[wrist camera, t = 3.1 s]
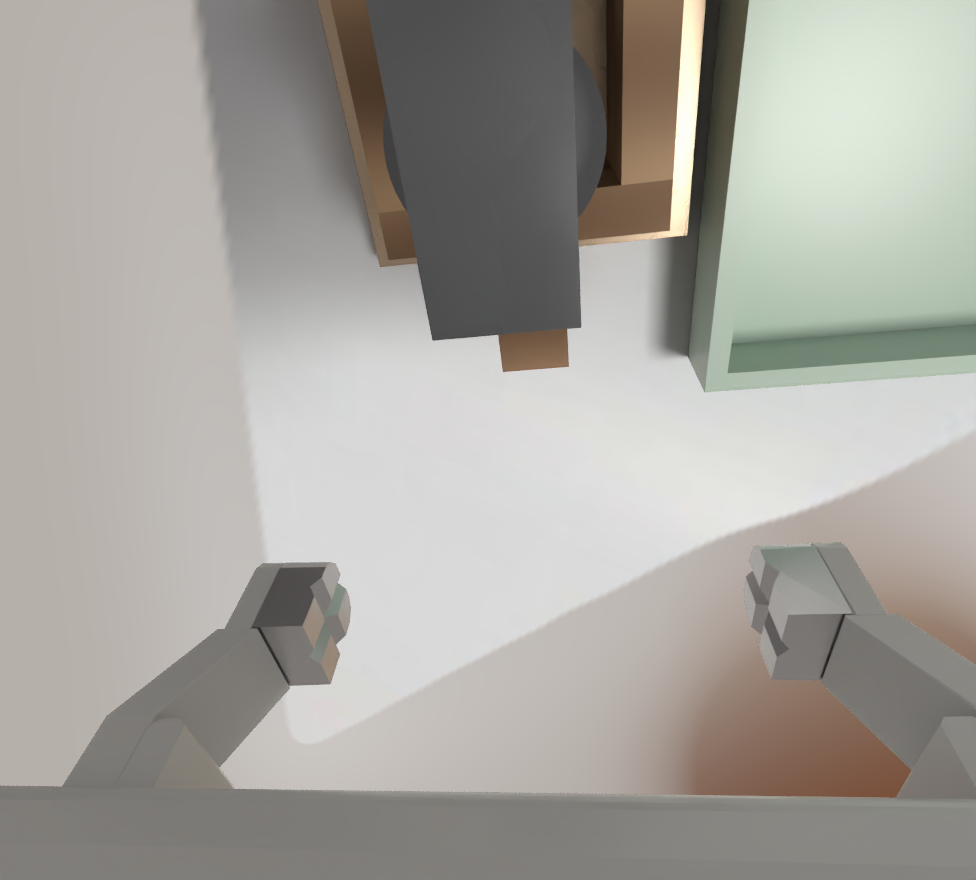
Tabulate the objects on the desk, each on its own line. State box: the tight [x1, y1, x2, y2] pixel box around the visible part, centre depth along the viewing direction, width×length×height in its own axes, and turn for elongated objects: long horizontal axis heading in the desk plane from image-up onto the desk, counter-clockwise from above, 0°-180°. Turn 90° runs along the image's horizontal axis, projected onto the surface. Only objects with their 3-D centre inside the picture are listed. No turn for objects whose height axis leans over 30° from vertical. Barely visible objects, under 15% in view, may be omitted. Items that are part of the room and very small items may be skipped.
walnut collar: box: [330, 0, 684, 372], centre depth 19 cm, size 14×9×4 cm, turn 7°
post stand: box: [317, 0, 706, 340], centre depth 13 cm, size 12×12×16 cm
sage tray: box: [688, 0, 976, 392], centre depth 18 cm, size 20×15×3 cm
